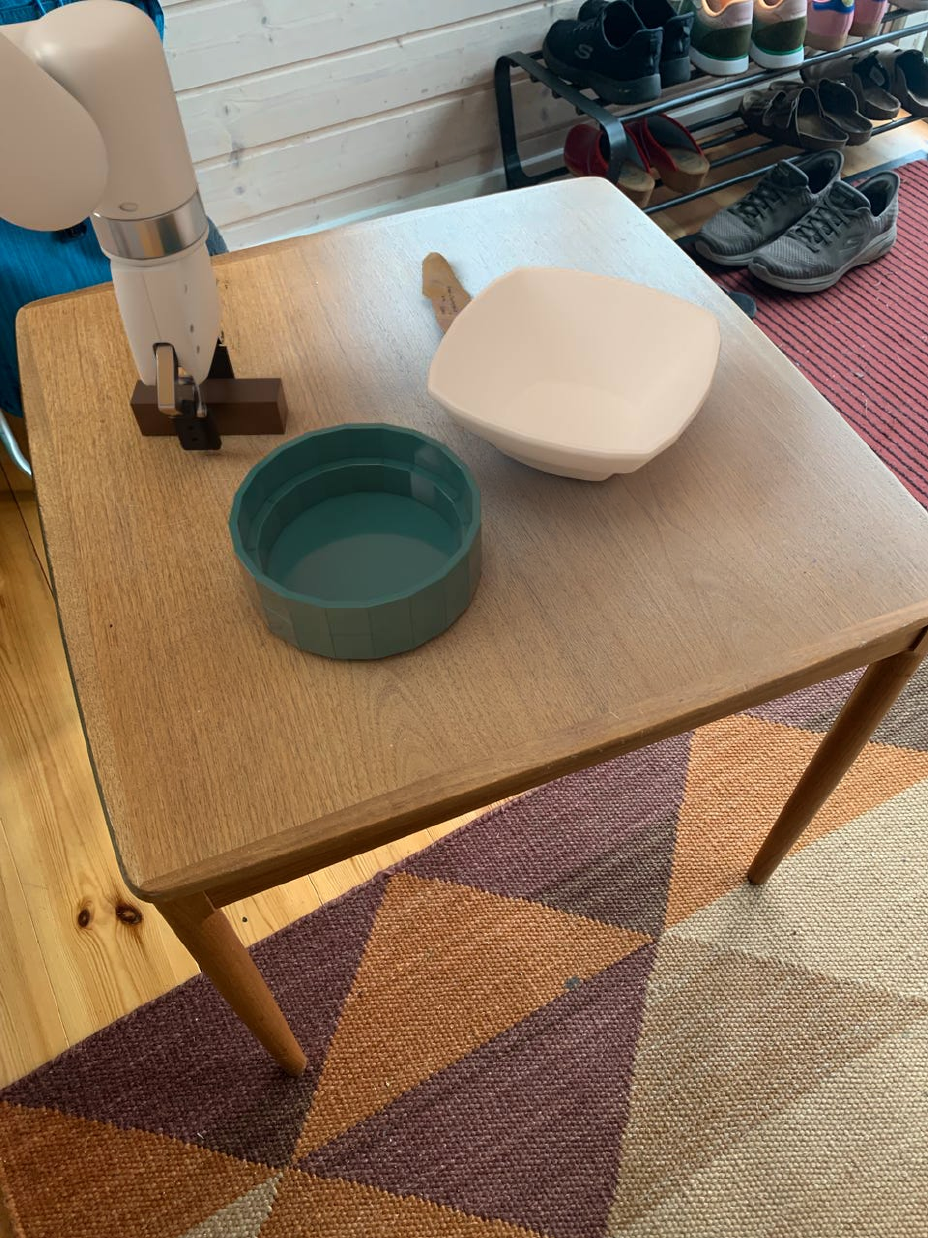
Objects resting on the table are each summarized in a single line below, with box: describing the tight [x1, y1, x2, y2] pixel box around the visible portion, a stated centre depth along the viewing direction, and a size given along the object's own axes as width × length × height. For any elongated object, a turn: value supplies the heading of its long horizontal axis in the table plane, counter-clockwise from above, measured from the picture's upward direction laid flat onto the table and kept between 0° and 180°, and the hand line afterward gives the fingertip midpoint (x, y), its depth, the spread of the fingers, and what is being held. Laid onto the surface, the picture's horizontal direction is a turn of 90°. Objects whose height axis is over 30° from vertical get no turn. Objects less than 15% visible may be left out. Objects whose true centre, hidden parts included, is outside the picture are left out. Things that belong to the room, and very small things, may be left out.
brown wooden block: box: [129, 377, 289, 437], centre depth 77 cm, size 12×3×4 cm, turn 90°
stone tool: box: [421, 251, 472, 335], centre depth 87 cm, size 5×2×15 cm
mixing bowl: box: [228, 422, 482, 660], centre depth 66 cm, size 17×17×6 cm
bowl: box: [426, 265, 723, 482], centre depth 73 cm, size 21×21×9 cm
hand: (210, 414), depth 77 cm, fingers open, 7 cm apart
